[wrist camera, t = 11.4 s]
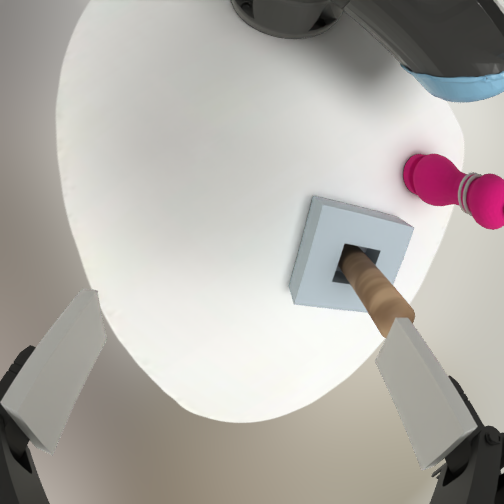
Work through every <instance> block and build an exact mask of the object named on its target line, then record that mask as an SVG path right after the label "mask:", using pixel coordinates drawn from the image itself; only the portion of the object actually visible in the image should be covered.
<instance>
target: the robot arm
mask: <svg viewBox="0 0 504 504" xmlns="http://www.w3.org/2000/svg"><path fill="white" fill-rule="evenodd" d="M231 2H232V5H233V7H234V9H235V11H236V12H237V14H238V15H239V16H240V17H241V18H242V19H243V20H244V21H245V22H246V23H247V24H249V25H250V26H252V27H253V28H255V29H257V30H259V31H261V32H263V33H266V34H269V35H272V36H276V37H280V38H288V39H301V38H308V37H313V36H316V35H319V34H321V33H323V32H325V31H326V30H328V29H329V28H330V27H332V26H333V25H334V23H335V22H336V21H337V20H338V19H339V18H340V16H341V15H342V13H343V11H344V12H346V13H347V14H348V15H349V16H350V17H352V18H353V19H354V20H355V21H357V22H358V23H359V24H360V25H361V26H362V27H363V28H365V29H366V30H367V31H368V32H369V33H370V34H371V35H372V36H374V37H375V38H376V39H377V40H378V41H379V42H380V43H381V44H382V45H383V46H384V47H385V48H386V49H387V50H388V51H389V52H390V53H391V54H392V55H393V56H394V57H395V58H396V59H397V60H398V61H399V62H400V64H401V66H402V67H403V69H404V70H406V71H407V72H408V73H410V74H412V75H413V76H414V77H415V78H416V79H417V80H418V81H419V83H420V84H421V85H422V86H423V87H424V88H425V89H426V90H427V91H428V92H429V93H430V94H432V95H433V96H435V97H438V98H441V99H443V100H446V101H451V102H473V101H479V100H484V99H487V98H490V97H493V96H496V95H498V94H500V93H502V92H504V0H231ZM106 340H107V337H106V333H105V328H104V323H103V318H102V313H101V308H100V303H99V297H98V291H97V290H91V289H85V288H82V290H81V291H80V292H79V293H78V294H77V296H76V297H75V298H74V299H73V300H72V301H71V303H70V304H69V305H68V307H67V308H66V309H65V310H64V311H63V313H62V314H61V315H60V316H59V318H58V319H57V320H56V322H55V323H54V324H53V326H52V327H51V328H50V329H49V331H48V332H47V333H46V335H45V336H44V337H43V339H42V340H41V341H40V343H39V344H38V346H37V347H33V346H31V345H30V346H29V347H27V348H26V349H24V350H23V351H22V352H20V354H19V355H18V356H17V358H16V359H15V361H14V364H12V365H11V366H10V368H9V371H7V372H6V374H5V375H4V376H3V378H2V380H1V381H0V504H50V503H49V501H48V499H47V497H46V494H45V492H44V489H43V487H42V484H41V482H40V479H39V477H38V474H37V471H36V468H35V465H34V462H33V459H32V456H31V453H30V450H29V448H28V446H27V444H28V442H29V440H30V441H31V442H32V443H33V444H34V446H35V447H36V448H38V449H40V450H42V451H44V452H46V453H49V454H51V455H53V454H54V451H55V449H56V447H57V444H58V442H59V439H60V437H61V434H62V432H63V430H64V427H65V425H66V423H67V420H68V418H69V416H70V413H71V411H72V409H73V407H74V405H75V402H76V400H77V398H78V396H79V394H80V392H81V390H82V387H83V386H84V383H85V381H86V379H87V377H88V375H89V373H90V371H91V369H92V367H93V365H94V363H95V361H96V360H97V358H98V356H99V354H100V352H101V350H102V348H103V346H104V344H105V342H106ZM375 362H376V364H377V366H378V369H379V371H380V373H381V375H382V377H383V379H384V382H385V384H386V386H387V388H388V390H389V392H390V395H391V397H392V399H393V401H394V404H395V406H396V408H397V410H398V413H399V415H400V418H401V420H402V422H403V425H404V427H405V430H406V432H407V434H408V437H409V439H410V442H411V444H412V447H413V449H414V452H415V455H416V457H417V460H418V462H419V465H420V467H421V470H425V469H428V468H430V467H433V466H436V465H437V464H438V463H439V462H440V461H441V460H443V459H444V458H445V460H446V463H445V464H444V465H442V466H441V467H440V468H439V469H437V470H436V471H435V472H434V473H433V474H432V477H434V476H435V475H437V474H438V473H439V472H440V475H438V476H437V477H436V478H437V479H438V482H437V485H436V488H435V491H434V494H433V496H432V499H431V502H430V504H504V473H503V474H501V471H500V470H501V469H502V468H503V467H504V433H500V432H499V431H498V430H497V429H496V428H494V427H493V426H486V427H485V426H484V425H483V424H482V422H481V420H480V418H479V417H478V415H477V413H476V411H475V410H474V408H473V406H472V404H471V403H470V401H468V398H467V396H466V395H465V394H464V391H463V390H462V388H461V386H460V385H459V383H458V382H457V381H456V380H455V379H453V378H452V377H451V376H447V374H446V373H445V371H444V369H443V368H442V366H441V364H440V363H439V362H438V360H437V358H436V357H435V356H434V354H433V352H432V351H431V349H430V348H429V347H428V345H427V344H426V342H425V341H424V339H423V338H422V336H421V335H420V334H419V332H418V331H417V329H416V328H415V327H414V325H413V324H412V322H411V321H410V320H409V318H395V320H394V322H393V325H392V327H391V329H390V331H389V333H388V335H387V338H386V340H385V342H384V344H383V346H382V348H381V350H380V352H379V354H378V356H377V358H376V360H375Z"/></svg>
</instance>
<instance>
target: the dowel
mask: <svg viewBox="0 0 504 504" xmlns="http://www.w3.org/2000/svg"><path fill="white" fill-rule="evenodd" d="M338 266H339V268H340V269H341V271H342V272H343V274H344V275H345V277H346V278H347V280H348V281H349V283H350V285H351V286H352V288H353V289H354V291H355V292H356V294H357V296H358V297H359V299H360V300H361V302H362V303H363V305H364V307H365V308H366V310H367V311H368V313H369V315H370V316H371V318H372V320H373V321H374V323H375V325H376V326H377V328H378V330H379V331H380V333H381V335H382V336H383V337H385V338H387V335H388V333H389V331H390V329H391V327H392V325H393V322H394V320H395V318H409V320H410V321H411V322H412V324H413V322H414V318H415V313H414V310H413V309H412V308H411V306H410V305H409V304H408V303H407V302H406V300H405V299H404V298H403V297H402V295H401V294H400V293H399V292H398V291H397V290H396V288H395V287H394V286H393V285H392V284H391V283H390V281H389V280H388V279H387V278H386V277H385V276H384V274H383V273H382V272H381V271H380V270H379V269H378V268H377V267H376V265H375V264H374V263H373V262H372V261H371V260H370V259H369V258H368V257H367V255H366V254H365V253H364V252H363V251H362V250H361V249H360V248H359V247H358V246H356V245H351V244H344V247H343V250H342V253H341V256H340V259H339V262H338Z"/></svg>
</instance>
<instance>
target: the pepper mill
mask: <svg viewBox="0 0 504 504" xmlns="http://www.w3.org/2000/svg"><path fill="white" fill-rule="evenodd" d="M403 178H404V182H405V185H406V187H407V188H408V189H409V191H411V192H412V193H414V194H416V195H418V196H419V197H420V198H421V199H422V200H423V201H424V202H426V203H428V204H430V205H434V206H445V205H450V204H456V205H459V206H460V207H461V209H462V210H463V211H464V212H465V213H467V214H469V215H470V216H473V218H474V219H475V221H476V222H477V223H478V224H479V225H481V226H482V227H484V228H487V229H493V230H494V229H498V228H501V227H502V226H504V180H503V179H502V178H501V177H499V176H497V175H495V174H484V175H481V174H477V173H474V172H473V173H469V174H465V173H462V172H460V171H459V170H458V169H457V168H456V166H455V165H454V164H453V163H452V162H451V161H450V160H449V159H447V158H446V157H444V156H441V155H438V154H429V155H423V154H416V155H414V156H412V157H411V158H410V159H409V160H408V161H407V162H406V164H405V167H404V172H403Z"/></svg>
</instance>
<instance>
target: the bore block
mask: <svg viewBox="0 0 504 504" xmlns="http://www.w3.org/2000/svg"><path fill="white" fill-rule="evenodd" d="M413 230H414V227H412V226H411V225H409V224H408V223H406V222H405V221H403V220H402V219H400V218H399V217H396V216H393V215H389V214H385V213H382V212H378V211H374V210H370V209H366V208H363V207H359V206H355V205H351V204H347V203H343V202H338V201H334V200H330V199H326V198H321V197H317V196H313V198H312V202H311V206H310V210H309V214H308V218H307V222H306V225H305V229H304V233H303V237H302V241H301V244H300V248H299V252H298V255H297V259H296V262H295V266H294V270H293V273H292V277H291V280H290V284H289V288H290V292H291V295H292V299H293V302H294V304H296V305H304V306H312V307H321V308H329V309H339V310H348V311H358V312H368V311H367V310H366V308H365V307H364V305H363V303H362V302H361V300H360V299H359V297H358V296H357V294H356V292H355V291H354V289H353V288H352V286H351V285H350V283H349V281H348V280H347V278H346V277H345V275H344V274H343V272H342V271H341V269H340V268H339V266H338V262H339V259H340V256H341V253H342V250H343V247H344V244H351V245H356V246H358V247H359V248H360V249H361V250H362V251H363V252H364V253H365V254H366V255H367V257H368V258H369V259H370V260H371V261H372V262H373V263H374V264H375V265H376V267H377V268H378V269H379V270H380V271H381V272H382V273H383V274H384V276H385V277H386V278H387V279H388V280H389V281H390V283H391V284H392V285H393V283H394V281H395V278H396V276H397V273H398V271H399V268H400V266H401V263H402V261H403V258H404V255H405V253H406V250H407V247H408V244H409V242H410V239H411V236H412V233H413Z"/></svg>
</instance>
